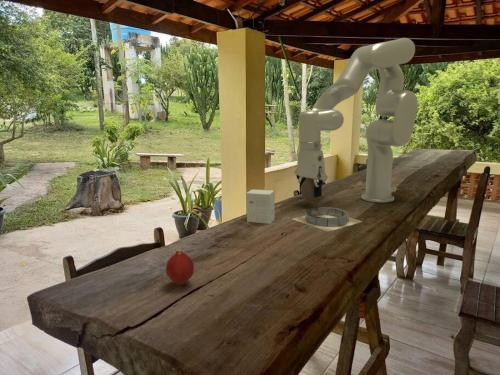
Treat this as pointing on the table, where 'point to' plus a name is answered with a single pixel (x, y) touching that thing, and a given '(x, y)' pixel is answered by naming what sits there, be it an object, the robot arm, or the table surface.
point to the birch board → (350, 222)
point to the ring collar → (327, 222)
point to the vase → (308, 189)
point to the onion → (180, 268)
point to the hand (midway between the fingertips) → (310, 194)
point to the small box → (260, 206)
